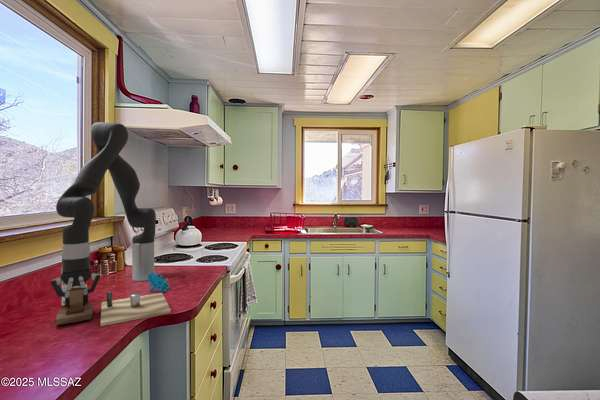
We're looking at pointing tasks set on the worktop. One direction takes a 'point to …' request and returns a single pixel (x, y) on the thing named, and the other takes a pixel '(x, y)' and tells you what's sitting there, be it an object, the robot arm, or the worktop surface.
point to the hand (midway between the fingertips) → (77, 306)
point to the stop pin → (109, 299)
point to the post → (134, 300)
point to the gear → (157, 282)
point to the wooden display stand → (75, 308)
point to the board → (133, 309)
